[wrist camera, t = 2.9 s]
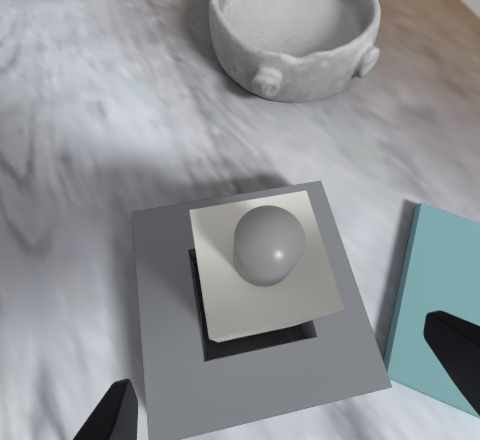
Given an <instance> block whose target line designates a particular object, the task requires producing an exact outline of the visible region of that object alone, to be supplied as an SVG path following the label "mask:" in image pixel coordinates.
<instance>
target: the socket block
mask: <svg viewBox="0 0 480 440" xmlns="http://www.w3.org/2000/svg"><path fill="white" fill-rule="evenodd" d="M300 191H307V194H308V197H309V200H310V203H311V206H312V209H313V213H314V216H315V219H316V222H317V225H318V228H319V231H320V234H321V238H322V241H323V244H324V247H325V250H326V253H327V256H328V260H329V263H330V266H331V269H332V272H333V275H334V278H335V281H336V285H337V288H338V291H339V294H340V297H341V300H342V303H343V306H344V310H342V311H339V312H336V313H333V314H329V315H326V316H323V317H320V318H317V319H314V320H311V321H308V322H304V323H301V328H302V331H303V335H304V339H299V340H295V341H290V342H286V343H281V344H277V345H272V346H268V347H263V348H259V349H254V350H249V351H245V352H240V353H236V354H231V355H227V356H222V357H218V358H213V359H209V360H208V357H207V350H206V344H205V337H204V330H203V323H202V317H201V310H200V303H199V296H198V290H197V283H196V276H195V269H194V263H196V262H197V256H196V250H195V243H194V237H193V230H192V224H191V217H190V211H189V210H192V209H198V208H204V207H210V206H216V205H222V204H228V203H234V202H240V201H246V200H252V199H258V198H264V197H270V196H276V195H282V194H288V193H294V192H300ZM132 223H133V237H134V250H135V263H136V277H137V290H138V304H139V317H140V330H141V344H142V357H143V371H144V384H145V397H146V411H147V424H148V437H149V440H181V439H185V438H189V437H193V436H197V435H201V434H205V433H209V432H213V431H217V430H221V429H225V428H229V427H233V426H237V425H241V424H245V423H250V422H254V421H258V420H262V419H266V418H270V417H274V416H278V415H282V414H286V413H290V412H294V411H298V410H302V409H306V408H310V407H314V406H318V405H322V404H326V403H330V402H334V401H339V400H343V399H347V398H351V397H355V396H359V395H363V394H367V393H371V392H375V391H379V390H383V389H387V388H391V387H392V385H391V383H390V380H389V377H388V374H387V371H386V368H385V365H384V362H383V359H382V356H381V354H380V351H379V348H378V345H377V342H376V339H375V336H374V333H373V330H372V327H371V325H370V322H369V319H368V316H367V313H366V310H365V307H364V304H363V301H362V298H361V295H360V293H359V290H358V287H357V284H356V281H355V278H354V275H353V272H352V269H351V266H350V264H349V261H348V258H347V255H346V252H345V249H344V246H343V243H342V240H341V237H340V235H339V232H338V229H337V226H336V223H335V220H334V217H333V214H332V211H331V208H330V205H329V203H328V200H327V197H326V194H325V191H324V188H323V185H322V182H321V181H316V182H310V183H304V184H298V185H292V186H285V187H279V188H273V189H267V190H261V191H255V192H249V193H243V194H237V195H231V196H225V197H219V198H213V199H207V200H201V201H195V202H189V203H182V204H176V205H170V206H164V207H158V208H152V209H146V210H140V211H134V212H132Z"/></svg>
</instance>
